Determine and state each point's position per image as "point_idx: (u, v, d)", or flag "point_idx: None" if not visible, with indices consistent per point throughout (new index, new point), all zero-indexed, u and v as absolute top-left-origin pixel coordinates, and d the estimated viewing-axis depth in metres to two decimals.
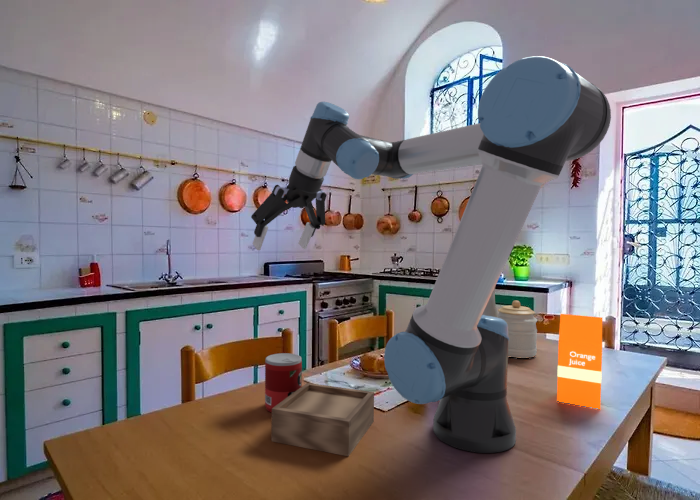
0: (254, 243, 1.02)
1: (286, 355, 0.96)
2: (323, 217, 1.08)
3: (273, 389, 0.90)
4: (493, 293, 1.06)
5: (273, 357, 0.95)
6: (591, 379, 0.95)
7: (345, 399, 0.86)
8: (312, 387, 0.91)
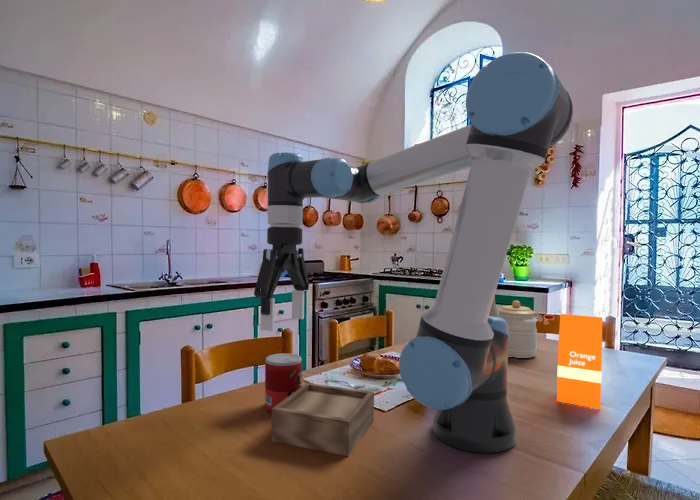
0: (264, 327, 0.87)
1: (286, 355, 0.96)
2: (306, 276, 1.01)
3: (273, 389, 0.90)
4: None
5: (273, 357, 0.95)
6: (591, 379, 0.95)
7: (345, 399, 0.86)
8: (312, 387, 0.91)
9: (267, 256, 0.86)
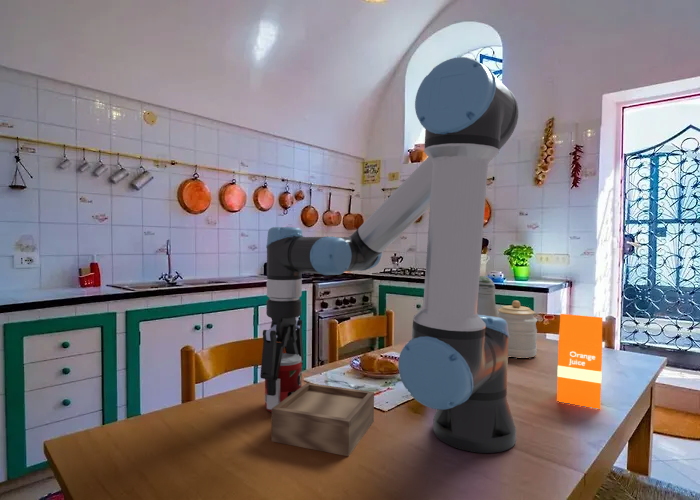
0: (270, 406, 0.89)
1: (286, 355, 0.96)
2: (301, 350, 0.99)
3: None
4: (493, 293, 1.06)
5: None
6: (591, 379, 0.95)
7: (345, 399, 0.86)
8: (312, 387, 0.91)
9: (267, 338, 0.87)
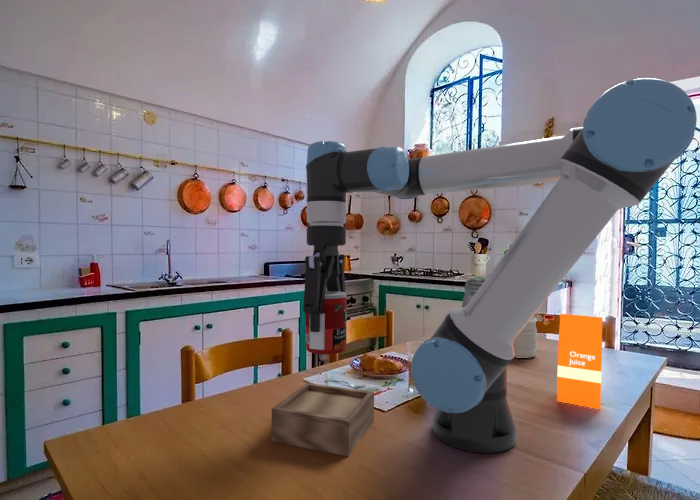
0: (313, 345, 0.78)
1: (327, 292, 0.85)
2: (344, 289, 0.88)
3: None
4: None
5: None
6: (591, 379, 0.95)
7: (345, 399, 0.86)
8: (312, 387, 0.91)
9: (310, 265, 0.76)
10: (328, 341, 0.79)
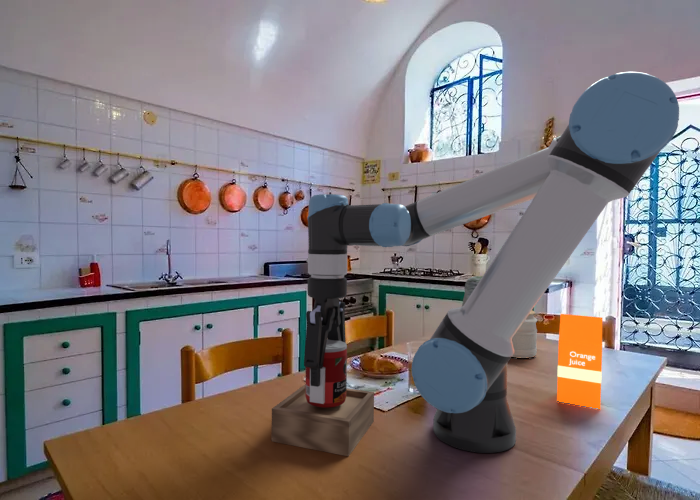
0: (313, 399, 0.78)
1: (328, 341, 0.85)
2: (344, 336, 0.88)
3: None
4: None
5: None
6: (591, 379, 0.95)
7: (345, 399, 0.86)
8: None
9: (311, 320, 0.76)
10: (328, 395, 0.79)
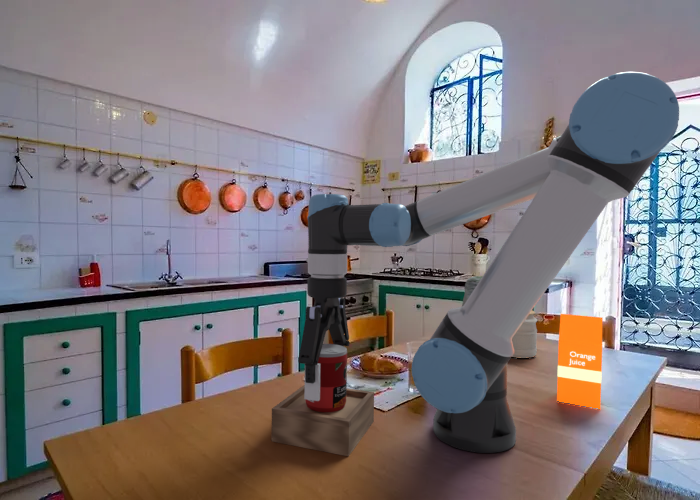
0: (308, 396, 0.76)
1: (328, 346, 0.85)
2: (347, 329, 0.90)
3: None
4: None
5: None
6: (591, 379, 0.95)
7: None
8: None
9: (311, 315, 0.76)
10: (328, 399, 0.79)
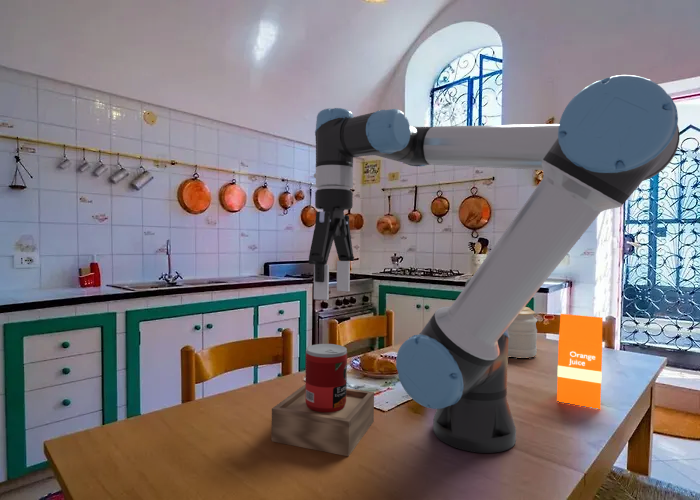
0: (317, 296, 0.80)
1: (328, 346, 0.85)
2: (351, 246, 0.94)
3: (316, 384, 0.79)
4: None
5: (314, 347, 0.84)
6: (591, 379, 0.95)
7: None
8: None
9: (321, 219, 0.79)
10: (328, 399, 0.79)
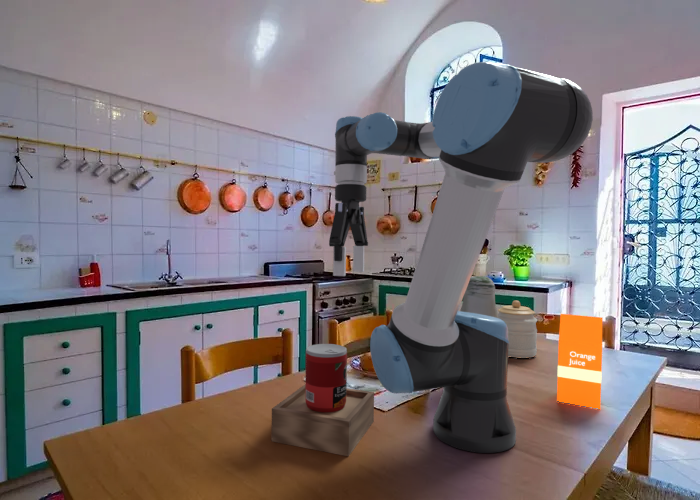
0: (336, 273, 0.96)
1: (328, 346, 0.85)
2: (365, 233, 1.10)
3: (316, 384, 0.79)
4: (493, 293, 1.06)
5: (314, 348, 0.84)
6: (591, 379, 0.95)
7: None
8: None
9: (339, 209, 0.96)
10: (328, 399, 0.79)
